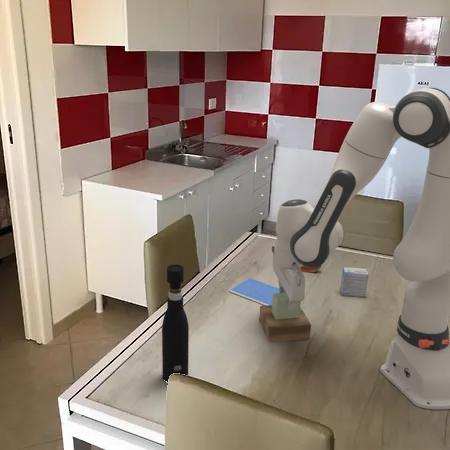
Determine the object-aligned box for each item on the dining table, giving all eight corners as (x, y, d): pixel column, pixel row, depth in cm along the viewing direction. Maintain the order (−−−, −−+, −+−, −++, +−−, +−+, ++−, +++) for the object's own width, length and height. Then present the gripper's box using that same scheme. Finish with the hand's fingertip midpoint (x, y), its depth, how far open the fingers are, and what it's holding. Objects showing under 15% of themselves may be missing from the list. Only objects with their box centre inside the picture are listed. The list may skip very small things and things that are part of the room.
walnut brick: (309, 340, 147) (311, 324, 145) (268, 342, 145) (269, 327, 144) (297, 318, 158) (298, 303, 157) (259, 320, 156) (260, 305, 155)
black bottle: (175, 366, 133) (175, 259, 123) (193, 376, 129) (195, 267, 119) (157, 377, 128) (155, 268, 118) (175, 388, 125) (175, 276, 114)
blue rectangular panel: (297, 297, 171) (297, 293, 171) (277, 312, 162) (278, 308, 161) (249, 280, 182) (249, 276, 181) (227, 293, 172) (228, 289, 172)
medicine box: (363, 291, 176) (366, 268, 172) (365, 297, 171) (368, 274, 168) (339, 289, 176) (342, 266, 173) (341, 296, 172) (344, 272, 169)
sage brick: (299, 317, 149) (300, 299, 147) (275, 319, 147) (277, 300, 145) (294, 310, 153) (295, 292, 151) (271, 311, 151) (272, 293, 149)
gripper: (312, 271, 134) (308, 318, 139) (291, 242, 153) (287, 284, 158) (289, 272, 133) (285, 319, 138) (270, 242, 152) (267, 285, 157)
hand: (286, 300), depth 148 cm, fingers open, 8 cm apart
